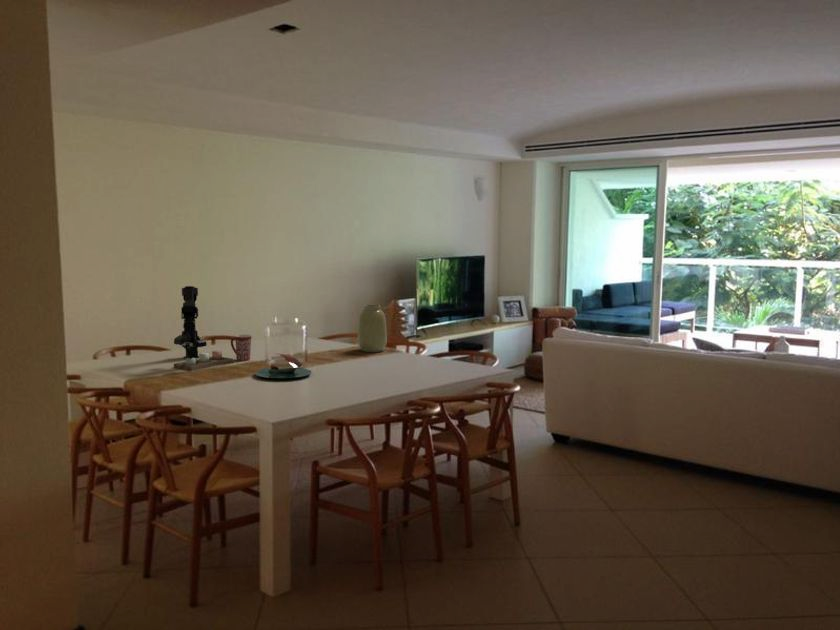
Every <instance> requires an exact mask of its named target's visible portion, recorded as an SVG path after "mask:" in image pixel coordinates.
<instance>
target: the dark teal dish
mask: <svg viewBox="0 0 840 630" xmlns="http://www.w3.org/2000/svg"><path fill="white" fill-rule="evenodd" d="M275 354H276V355H279V356H280V357H282V358H284V359H285V361H287V362H288V364H290V365H291V367H288V366H287V367H286V366H285V367H284V366H278V365H274V364H270V367H266V368H261V369H259V370H257V371H256V370H255V372H254V376H255V375H256V376H257V377H262V378H270V379H292V378H300V377H305V376H309V375H310V374H312V370H310V369H308V368H305V366H304V364H303V362H301V361H299V360H298V359H297V358H296V357H294V356H290V355H288V354H285V353H275Z"/></svg>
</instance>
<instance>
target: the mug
mask: <svg viewBox="0 0 840 630" xmlns="http://www.w3.org/2000/svg"><path fill="white" fill-rule="evenodd" d="M234 340H235V346H234ZM251 345H252V335H251V334H237V335H234V337H232V338H231V340H230V347H231V349H232V350H233V352H234V354H235V356H236V357H235V358H236V361H238V362H239V361H240V362H248V361H251V349H252V348H251V347H252V346H251Z"/></svg>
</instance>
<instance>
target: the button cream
mask: <svg viewBox="0 0 840 630" xmlns="http://www.w3.org/2000/svg"><path fill="white" fill-rule="evenodd" d="M198 356H199V357H198V359H199V362H208V361H209V357H210V353H209V352H202V353H198Z"/></svg>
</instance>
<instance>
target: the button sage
mask: <svg viewBox="0 0 840 630" xmlns="http://www.w3.org/2000/svg"><path fill="white" fill-rule="evenodd" d="M196 359H197V358H192V359H189V358H185V361H184V362H186V365H194V364H196Z"/></svg>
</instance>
